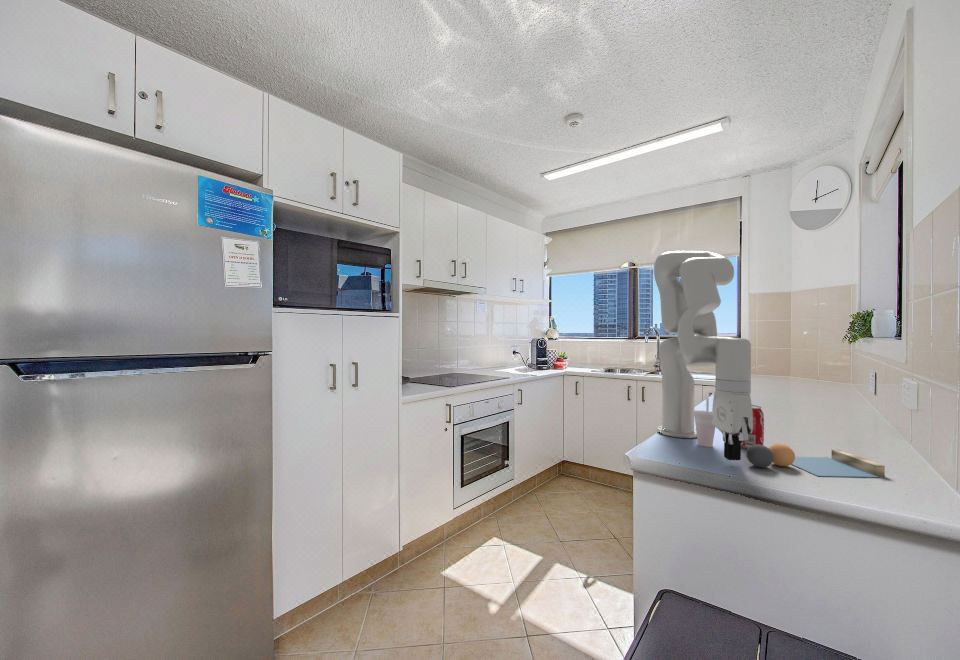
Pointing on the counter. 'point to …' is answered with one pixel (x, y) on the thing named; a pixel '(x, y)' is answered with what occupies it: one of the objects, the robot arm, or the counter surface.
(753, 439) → the soda can
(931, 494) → the counter surface
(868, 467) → the stopper rail
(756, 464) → the gray ball
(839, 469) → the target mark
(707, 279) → the robot arm
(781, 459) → the orange ball
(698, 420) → the smoothie
